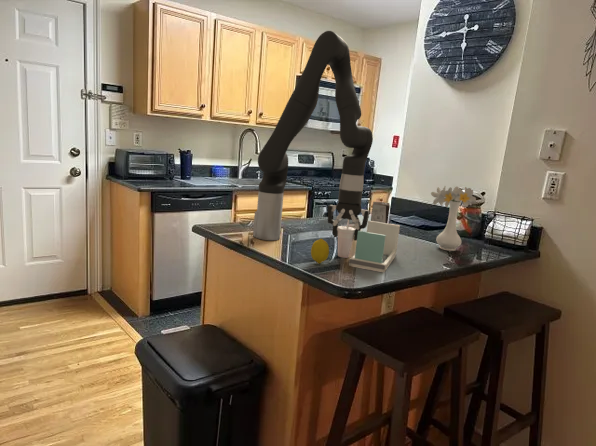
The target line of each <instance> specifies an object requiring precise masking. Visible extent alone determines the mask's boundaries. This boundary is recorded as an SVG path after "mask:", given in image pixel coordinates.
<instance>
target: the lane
mask: <svg viewBox="0 0 596 446" xmlns="http://www.w3.org/2000/svg"><path fill="white" fill-rule="evenodd" d="M400 227H401V226H400V224H393V223H381V222H375V221H371V220H368V222H367V226H366V232H370V233H376V234H382V235H386V237H385V245H384V252H383V256H384V255H385V256H387V258H386V259H385V260H384V262H382V263H378V262H373V261H367V260H362V259H357V258H355V254H353V256H351V257H350V256H349V259H348V266H349V267H353V268H359V269H364V270H368V271H374V272H380V273H385V272H386V271H387V270H388V268H389V266H390V265H391V263H392V262H393V261H394V259H395V258H396V256H397V250H398V242H399V236H400Z"/></svg>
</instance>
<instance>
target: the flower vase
mask: <svg viewBox="0 0 596 446" xmlns="http://www.w3.org/2000/svg"><path fill="white" fill-rule="evenodd" d="M452 188H453V187H449V188H447V190H446V185H444V187H443V188H442V190H441V189H440V187H436V192H435V191H432V192H431V193H430V194H431V196H432V197H433V198H435V199H434V200H433V202H432V204H433V205H435V206H436V205H437V204H439V205H440V206H443V204H444V206H445V207H446V208H448V207H449V211H448V217H447V223H446V225H445V228H444V229H443V230H442V232H440V233H439V234H438V235H437V236H436V238H435V239H436V243H437V245H438V246H439V249H440V250H442V251H443V250H444V251H449V252H454V251H455V252H456V251H457V248H459V247H460V246H461V245H462V239H461V237H460V235H459V234H458V232H457V216H458V213H459V212H458V211H459V208H460V206H461V204H463V206H464V207H468V206H472V203H475V204H476V203H477V198H476V196H473V194H474V191H473V189H472V188H471V187H466V186H465V187H464V191H463V190H462V189H461V188H459V186H454V188H453V189H452Z"/></svg>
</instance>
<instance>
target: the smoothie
mask: <svg viewBox="0 0 596 446" xmlns="http://www.w3.org/2000/svg"><path fill="white" fill-rule="evenodd" d="M355 229H356V227H353V226H350V220H349V219H347V223H346V225H345V226H344V225H338V227H337V231H338V236H337V257H339V258H343V259H346V258H347V259H348V258H350V254H351V249H352V245H353V241H354V234H355Z"/></svg>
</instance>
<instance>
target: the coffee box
mask: <svg viewBox="0 0 596 446" xmlns="http://www.w3.org/2000/svg"><path fill="white" fill-rule="evenodd" d="M390 208H391V205H390V202H384V201H383V202H382V201H373V202H372V207H371V215H370V221H375V222H381V223H388V222H389V215H390ZM388 224H389V223H388Z"/></svg>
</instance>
